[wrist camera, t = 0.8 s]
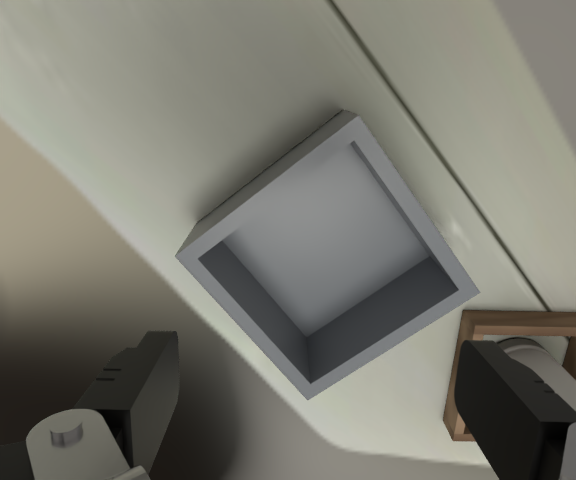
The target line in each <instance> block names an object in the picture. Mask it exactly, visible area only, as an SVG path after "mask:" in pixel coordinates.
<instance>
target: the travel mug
mask: <svg viewBox="0 0 576 480" xmlns="http://www.w3.org/2000/svg"><path fill="white" fill-rule="evenodd" d="M497 345H498V346H499V347H500V348H501V349H502V350H503V351H504V352H505V353H506V354H507V355H508V356H509V357H510V358H511V359H515V360H517V361H519V362H520V363H522V364H524V365H525V366H527V367H529V368H531V369H532V370H533V371H534V372H535V373H536V374H537V375H538V376H540V377H541V378H542V379H543V380H544V383H547V384H548V385H549V386H550V387H551V388H552V389H553V390H554V392H555V393H557V394H558V395H559V396H560V397H561V398H562V399H563V400H565V401H566V402H567V403H568V404H569V405H570V406H571V407H572V408H573V409H574V410H575V411H576V380H575V379H574V378H573V377H572V376H571V375H570V374H569V373H568V372H567V371H566V370H565V369H564V368H563V367H562V366H561V365H560V364H559V363H558V362H557V361H556V360H555V359H554V358H553V357H552V356H551V355H550V354H549V353H548V352H547V351H546V350H545V349H544V348H543V347H542V346H541V345H539V344H538V343H536V342H534V341H532V340H528V339H510V340H506V341H503V342H501V343H499V344H497Z"/></svg>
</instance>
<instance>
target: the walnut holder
mask: <svg viewBox="0 0 576 480" xmlns="http://www.w3.org/2000/svg"><path fill="white" fill-rule="evenodd" d="M483 335H534V336H571V338H570V342H569V345H568V349H567V352H566V356H565V359H564V363H563V366H562V367H563V368H564V369H565V370H566V371H567V372H568V373H569V374H570V375H571V376H572V377H573V378H574V379H575V380H576V312H531V311H482V310H463V313H462V318H461V324H460V329H459V335H458V340H457V346H456V351H455V357H454V362H453V368H452V373H451V379H450V384H449V390H448V395H447V401H446V406H445V412H444V417H443V422H444V424H445V426H446V428H447V430H448V432H449V434H450V436H451V438H452V440H453V441H475V439H474V437H473V436H472V434H471V433H470V431H469V429H468V428H467V426H466V425H465V423H464V421H463V420H462V418H461V416H460V415H459V413H458V411H457V408H456V405H455V399H454V388H455V381H456V375H457V368H458V361H459V354H460V348H461V345H462V343H463V341H464V340H483Z"/></svg>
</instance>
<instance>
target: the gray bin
mask: <svg viewBox="0 0 576 480" xmlns="http://www.w3.org/2000/svg"><path fill="white" fill-rule="evenodd" d="M175 257H176V258H177V259H178V260H179V261H180V262H181V264H182V265H183V266H184V267H185V268H186V269H187V270H188V271H189V272H190V273H191V274H192V275H193V277H194V278H195V279H196V280H197V281H198V282H199V283H200V284H201V285H202V286H203V287H204V289H205V290H206V291H207V292H208V293H209V294H210V295H211V296H212V297H213V298H214V299H215V300H216V302H217V303H218V304H219V305H220V306H221V307H222V308H223V309H224V310H225V311H226V312H227V313H228V315H229V316H230V317H231V318H232V319H233V320H234V321H235V322H236V323H237V324H238V325H239V326H240V328H241V329H242V330H243V331H244V332H245V333H246V334H247V335H248V336H249V337H250V338H251V339H252V341H253V342H254V343H255V344H256V345H257V346H258V347H259V348H260V349H261V350H262V351H263V353H264V354H265V355H266V356H267V357H268V358H269V359H270V360H271V361H272V362H273V363H274V364H275V366H276V367H277V368H278V369H279V370H280V371H281V372H282V373H283V374H284V375H285V376H286V377H287V379H288V380H289V381H290V382H291V383H292V384H293V385H294V386H295V387H296V388H297V389H298V390H299V392H300V393H301V394H302V395H303V396H304V397H305V398H306V399H307V400H309V399H311V398H312V397H314V396H316V395H317V394H319V393H320V392H322V391H324V390H325V389H327V388H328V387H330V386H332V385H333V384H335V383H336V382H338V381H340V380H341V379H343V378H344V377H346V376H348V375H349V374H351V373H352V372H354V371H356V370H357V369H359V368H360V367H362V366H364V365H365V364H367V363H368V362H370V361H372V360H373V359H375V358H376V357H378V356H380V355H381V354H383V353H384V352H386V351H388V350H389V349H391V348H392V347H394V346H396V345H397V344H399V343H400V342H402V341H404V340H405V339H407V338H408V337H410V336H412V335H413V334H415V333H416V332H418V331H420V330H421V329H423V328H424V327H426V326H428V325H429V324H431V323H432V322H434V321H436V320H437V319H439V318H440V317H442V316H444V315H445V314H447V313H448V312H450V311H452V310H453V309H455V308H456V307H458V306H460V305H461V304H463V303H464V302H466V301H468V300H469V299H471V298H472V297H474V296H476V295H477V294H479V293H480V291H479V290H478V288H477V287H476V285H475V284H474V283H473V281H472V280H471V278H470V277H469V275H468V274H467V272H466V271H465V269H464V268H463V266H462V265H461V264H460V262H459V261H458V259H457V258H456V256H455V255H454V253H453V252H452V250H451V249H450V247H449V246H448V245H447V243H446V242H445V240H444V239H443V237H442V236H441V234H440V233H439V231H438V230H437V228H436V227H435V226H434V224H433V223H432V221H431V220H430V218H429V217H428V215H427V214H426V212H425V211H424V209H423V208H422V206H421V205H420V204H419V202H418V201H417V199H416V198H415V196H414V195H413V193H412V192H411V190H410V189H409V187H408V186H407V185H406V183H405V182H404V180H403V179H402V177H401V176H400V174H399V173H398V171H397V170H396V168H395V167H394V166H393V164H392V163H391V161H390V160H389V158H388V157H387V155H386V154H385V152H384V151H383V149H382V148H381V147H380V145H379V144H378V142H377V141H376V139H375V138H374V136H373V135H372V133H371V132H370V130H369V129H368V128H367V126H366V125H365V123H364V122H363V120H362V119H361V117H360V116H359V115H358V114H355V113H352V112H349V111H346V110H342V111H340V112H339V113H338V114H337V115H335V116H334V117H333V118H331V119H330V120H329V121H328V122H326V123H325V124H324V125H322V126H321V127H320V128H319V129H317V130H316V131H315V132H313V133H312V134H311V135H310V136H308V137H307V138H306V139H304V140H303V141H302V142H301V143H299V144H298V145H297V146H295V147H294V148H293V149H292V150H290V151H289V152H288V153H286V154H285V155H284V156H283V157H281V158H280V159H279V160H277V161H276V162H275V163H274V164H272V165H271V166H270V167H268V168H267V169H266V170H265V171H263V172H262V173H261V174H259V175H258V176H257V177H256V178H254V179H253V180H252V181H250V182H249V183H248V184H247V185H245V186H244V187H243V188H241V189H240V190H239V191H237V192H236V193H235V194H234V195H232V196H231V197H230V198H228V199H227V200H226V201H225V202H223V203H222V204H221V205H219V206H218V207H217V208H216V209H214V210H213V211H212V212H210V213H209V214H208V215H207V216H205V217H204V218H203V219H201V220H200V221H199V222H198V223H196V225H195V226H194V228H193V229H192V231H191V232H190V234H189V235H188V237H187V238H186V240H185V241H184V243H183V244H182V246H181V247H180V249H179V250H178V252H177V253H176V255H175Z"/></svg>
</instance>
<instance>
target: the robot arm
mask: <svg viewBox="0 0 576 480" xmlns="http://www.w3.org/2000/svg"><path fill="white" fill-rule="evenodd" d="M178 393H179V356H178V336H177V332H176V331H151V330H150V331H148V332H147V333H146V334H145V336H144V337H143V339H142V340H141V342H140V343H139V345H138V346H137V348H126V349H124V350H123V351H121V352H120V353H118V354H116V355H115V356H113V357H112V358H111V359H110V361H109V362H108V363H107V364H106V366H105V367H104V370H103V371H101V372H100V374H99V375H98V376H97V378H96V380H95V381H94V382H93V383H92V384H91V386H90V387H89V388H88V389H87V391H86V392H85V393H84V394H83V396H82V397H81V398H80V400H79V401H78V402H77V404H76V405H75V406H74V408H73V409H72V410H67V411H63V412H60V413H57V414H54V415H52V416H50V417H48V418H46V419H44V420H43V421H41V422H40V423H39V424H37V425H36V426H35V427H34V428H33V429H32V430H31V431H30V433H29V434H28V436H27V440H26V441H23V442H19V443H14V444H8V445H4V446H0V480H150V478H149V477H148V474H149V471H150V469H151V466H152V464H153V461H154V459H155V456H156V454H157V451H158V449H159V446H160V444H161V441H162V439H163V436H164V434H165V431H166V429H167V426H168V424H169V421H170V419H171V416H172V414H173V411H174V409H175V406H176V403H177V398H178ZM454 399H455V405H456V408H457V411H458V413H459V415H460V416H461V418H462V420H463V421H464V423H465V425H466V426H467V428H468V429H469V431H470V433H471V434H472V436H473V437H474V439H475V441H476V442H477V444H478V446H479V447H480V449H481V450H482V452H483V454H484V455H485V457H486V459H487V460H488V462H489V463H490V465H491V467H492V468H493V470H494V471H495V473H496V475H497V476H498V478H499V480H576V411H575V410H574V409H573V408H572V407H571V406H570V405H569V404H568V403H567V402H566V401H565V400H563V399H562V398H561V397H560V396H559V395H558V394H557V393H555V392H554V390H553V389H552V388H551V387H550V386H549V385H548V384H547V383H544V380H543V379H542V378H541V377H540V376H538V375H537V374H536V373H535V372H534V371H533V370H532V369H531V368H529V367H527V366H525V365H524V364H522V363H520V362H519V361H517V360H515V359H511V358H510V357H509V356H508V355H507V354H506V353H505V352H504V351H503V350H502V349H501V348H500V347H499V346H498V345H497V344H496V343H495V342H494V341H487V340H464V341H463V343H462V345H461V348H460V354H459V361H458V368H457V375H456V381H455V388H454Z"/></svg>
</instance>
